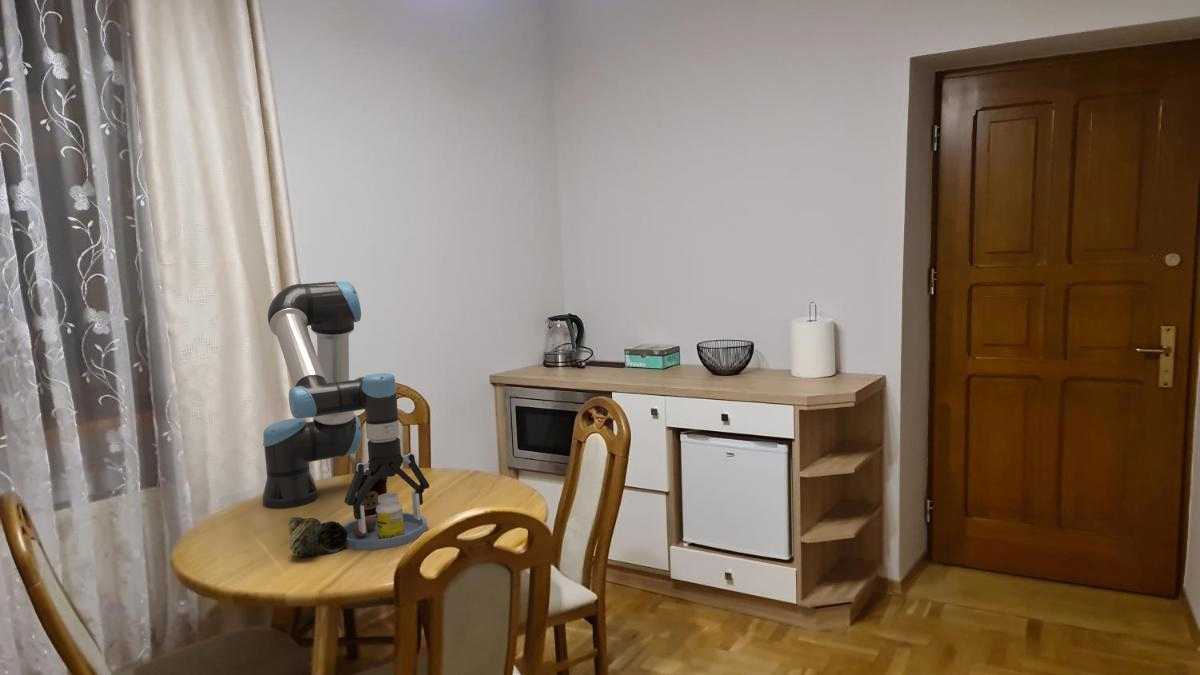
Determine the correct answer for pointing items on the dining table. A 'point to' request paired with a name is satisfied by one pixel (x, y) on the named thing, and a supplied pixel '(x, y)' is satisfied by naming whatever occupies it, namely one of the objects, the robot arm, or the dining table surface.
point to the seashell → (315, 536)
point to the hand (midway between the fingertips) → (390, 525)
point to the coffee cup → (372, 494)
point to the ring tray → (371, 541)
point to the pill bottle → (389, 516)
